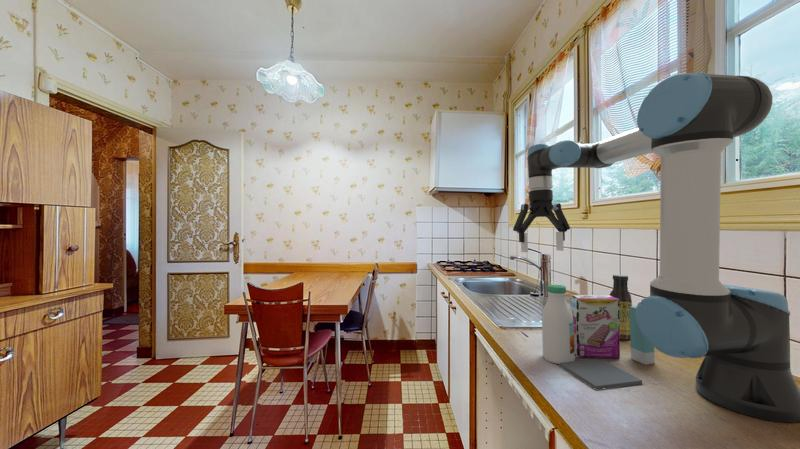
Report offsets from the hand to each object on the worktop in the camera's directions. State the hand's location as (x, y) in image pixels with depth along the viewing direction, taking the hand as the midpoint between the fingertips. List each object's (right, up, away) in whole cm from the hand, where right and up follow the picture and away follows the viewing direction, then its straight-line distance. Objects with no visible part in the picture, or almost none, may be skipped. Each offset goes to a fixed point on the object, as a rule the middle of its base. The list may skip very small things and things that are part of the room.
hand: (542, 251), depth 109 cm
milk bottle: (-6, -28, -23) cm, 37 cm away
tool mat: (-1, -27, -32) cm, 42 cm away
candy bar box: (+5, -27, -21) cm, 35 cm away
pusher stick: (+15, -27, -25) cm, 40 cm away
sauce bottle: (+21, -27, -8) cm, 35 cm away
